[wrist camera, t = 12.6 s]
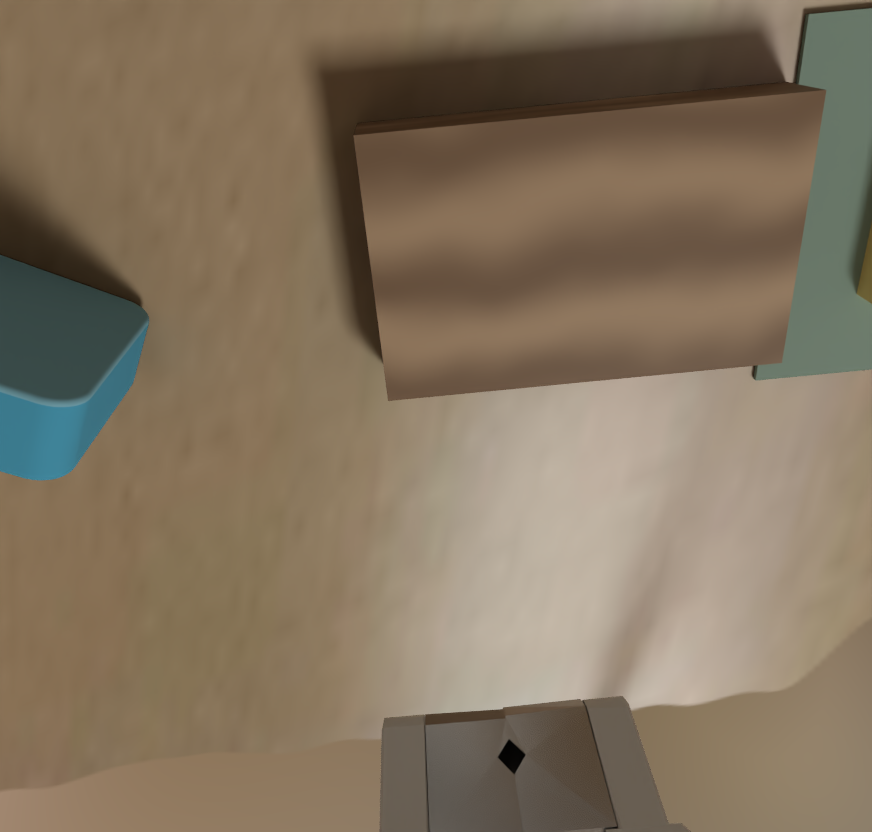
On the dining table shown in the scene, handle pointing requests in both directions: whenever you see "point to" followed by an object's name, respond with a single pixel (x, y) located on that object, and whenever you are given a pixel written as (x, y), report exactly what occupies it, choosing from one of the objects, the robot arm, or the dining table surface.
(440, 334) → the board
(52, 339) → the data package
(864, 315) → the mat
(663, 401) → the dining table surface
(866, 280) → the yellow block
